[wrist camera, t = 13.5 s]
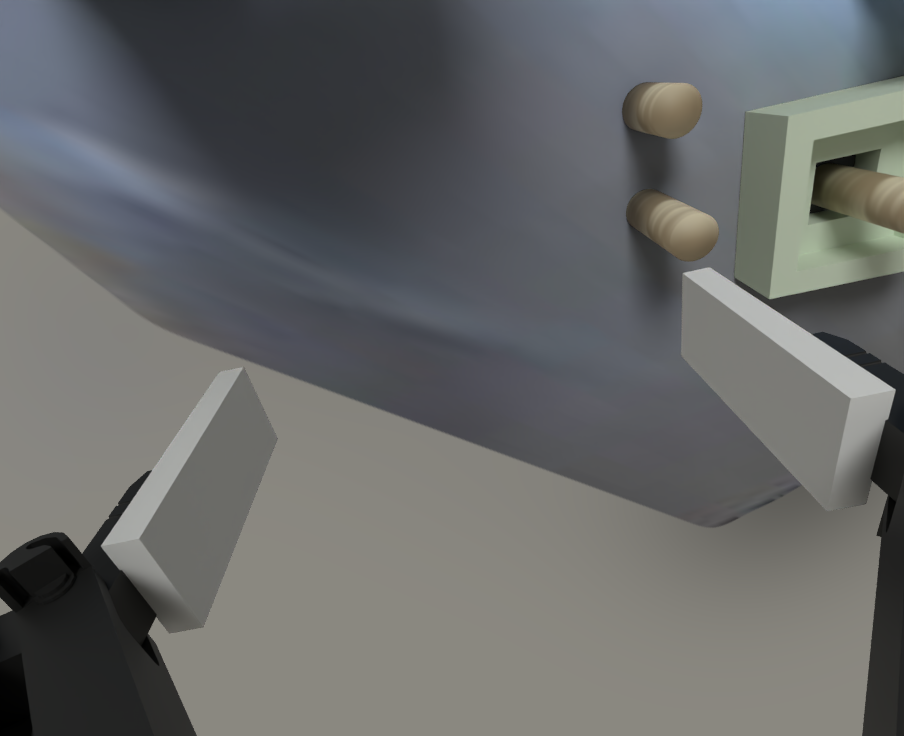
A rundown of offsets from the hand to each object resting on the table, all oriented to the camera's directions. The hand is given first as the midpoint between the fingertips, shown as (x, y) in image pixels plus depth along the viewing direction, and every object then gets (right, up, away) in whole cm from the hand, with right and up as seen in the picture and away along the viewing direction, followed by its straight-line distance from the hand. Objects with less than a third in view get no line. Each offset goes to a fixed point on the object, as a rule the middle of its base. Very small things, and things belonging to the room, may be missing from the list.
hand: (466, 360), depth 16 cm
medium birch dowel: (+16, +13, +29) cm, 36 cm away
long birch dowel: (+31, +15, +29) cm, 45 cm away
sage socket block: (+31, +15, +28) cm, 45 cm away
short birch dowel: (+15, +20, +25) cm, 35 cm away
